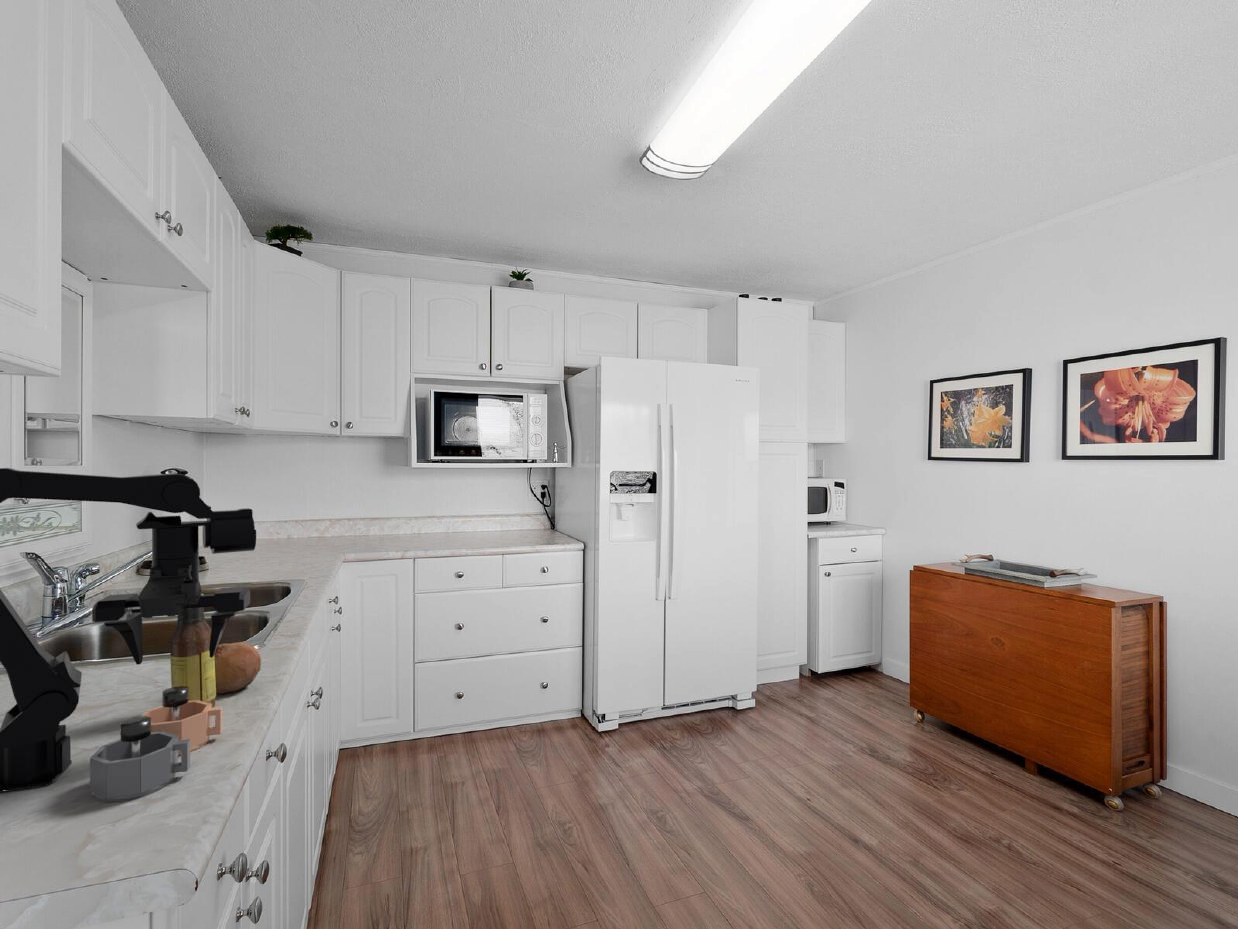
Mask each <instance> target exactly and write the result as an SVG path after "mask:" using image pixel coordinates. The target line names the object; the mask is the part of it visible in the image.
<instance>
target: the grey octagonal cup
mask: <svg viewBox="0 0 1238 929" xmlns="http://www.w3.org/2000/svg"><path fill="white" fill-rule="evenodd" d="M178 750H181V755H180V758H181V759H180V760H181V762H179V756H178ZM189 769H191V752H190V739H186V740H180V741H178V736H177V735H173V734H170V733H167V732H163V731H161V732H153V733H151V735H150V736H148V737H146V738H144V739H141V740H140V757H137V758H132V742H122V741H121V738H120V739H117V740H115V741H112V742H111V741H110V742H108V743H106V744H102V745H101V746H100V747H99V748H98V749H97V750H96V751H95V752H94V753H93V754H92V755H91V757H90V758H89V792H90V793H91V794H93V799H95V800H97V801H99V802H104V803H105V802H106V803H114V802H116V803H117V802H123V801H130V800H134V799H138V798H142V797H145V796H147V795H150V794H152V793H154V792H157V791H159V790H161V789H163V788H165V787H166V786H168V785H170V784H171V783H172V782H173V781H174V779H175V778H176V775H177V774H176V773H184V772H188V771H189Z"/></svg>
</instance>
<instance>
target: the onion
mask: <svg viewBox="0 0 1238 929" xmlns="http://www.w3.org/2000/svg"><path fill="white" fill-rule="evenodd" d="M214 660H215V682H216V693H219V694H227V693H228V694H229V693H233V692H235V691H239V690H241V691H242V690H244V689H246V688H247V687H248V686H249V685H251V684H252V683H253V682H254V681H255V679H256V678H257V675H258V674H259V673H260V671H261V666H262V665H261V664H262V659H261V654H260V653H259V650H258V649H257V648H256V647H255V646H254V645H252V644H250V643H248V642H244V641H238V642H231V643H220V644H218V647H217V649H216V652H215V655H214Z"/></svg>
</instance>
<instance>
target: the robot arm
mask: <svg viewBox="0 0 1238 929" xmlns="http://www.w3.org/2000/svg"><path fill="white" fill-rule="evenodd" d="M200 496H201V488H200V487H199V485H198V483H197V481H195V479H193V478H192V477H191V476H188V475H185V474H181V473H177V472H175V473H173V472H172V473H161V474H148V475H135V476H123V477H122V476H110V475H109V476H106V475H93V474H90V475H89V474H78V473H77V474H75V473H60V472H47V471H46V472H43V471H34V470H33V471H31V470H30V471H29V470H20V469H19V470H18V469H15V468H10V467H4V468H3V467H2V468H1V467H0V504H1V503H4V502H5V501H7V500H8V499H30V500H31V499H33V500H35V499H36V500H50V501H51V500H53V501H55V500H56V501H73V502H75V501H77V502H97V503H98V502H99V503H101V502H102V503H120V504H124V505H125V504H126V505H130V506H135V507H139V508H144V509H149V510H155V511H159V512H164V513H165V512H167V513H169V514H170V513H172V514H180V513H186V514H188V515H190V516H192V517H194V518H195V519H199V520H195V521H194V520H191V521H190V520H189V521H182V518H181V515H164V516H156V515H155V514H154V513H153V512H152V511H148V512H147V514H146V515H145V516H144V517H143V518H142V519H141V520H139V521H138V522H136V524H135V526H136V528H137V529H138V530H151V556H152V557H151V563H152V564H151V567H150V568H149V576H148V577H149V578H148V581H147V583H145V585H144V586H143V588H142V590H141V591H140V593H139V594H138V593H136V592H135V593H123V594H109V595H107V596H106V597H104V598H102V599H100V600H98V601H97V602H96V603H94V605H93V606H92V610H91V617H92V619H91V621H92V622H93V623H101V622H104V623H103V625H104V627H106V628H110V627H111V628H113V629H114V630H115V631H117V632H118V633H119V634H120V635H121V636H122V638H123V640H124V641H125V643H126V645H127V647H128V649H129V652H130V654H131V656H132V657H133V660H134V662H135V664H136V665H137V666H138V665H141V664H142V663H143V658H144V656H143V655H144V641H143V640H144V637H143V636H144V634H143V619H152V618H153V617H163V616H164V617H165V616H167V617H169V618H170V617H176V616H178V615H179V614H180V613H182V611H183V609H187V608H201V607H204V608H213V609H214V610H215V612H213V613H212V614H211V617H210V618H211V619H210V620H211V637H210V646H209V654H210V658H211V657H213V656H214V655H215V652H216V649H217V647H218V645H220V644H219V643H220V641H221V638H222V636H223V633H224V631H225V628H226V626H227V624H228V623H229V621H230V618H234V617H235V616H236V615H237V614H238V613H239V612H241V611H242V612H243V611H245V610H246V609H247V607H248V606H249V605H250V603H251V590H250V588H248V587H247V586H234V587H233V586H232V587H221V588H220V589H218V590H217V591H216V592H215V593H212V594H204V595H201V594H202V586H201V583H200V579H199V578H200V572H199V571H200V570H199V569H200V567H201V566H200V565H201V562H200V561H201V560H200V559H199V558H200V557H199V556H200V555H199V545H200V544H199V527H202V546H203V549H207V548H209V549H210V550H211V555H212V554H213V555H214V554H228V553H229V554H230V553H239V552H242V553H243V552H250V551H251V552H252V551H255V549H256V545H257V529H255V521H254V520H255V519H254V517H253V516H254V515H253V514H254V513H253V509H252V508H238V509H233V510H232V509H231V510H212V507H211V505H208V504H206V502H205V501H204V500H202V498H201V497H200ZM201 519H202V520H201ZM71 661H72V660H70V655H69V654H68V651H63V652H62V653H60V654H59V655H57V656H56V657H55V656H53V655H51V653H49V652H48V651H46V650H45V649H44V648H43V647H42V646H41V645H40V644H39V642H38V641H37V640H36V638H35V637H34V634H32V632H31V631H30V629H29V628H28V627H27V624H26V623H25V622H24V621H23V619H22V617H20V615H19V614H18V612H17V611H16V609H15V608H14V606H13V605H12V603H11V601H9V599H8V598H7V596H6V594H4V592H3V591H2V589H1V588H0V663H1V665H2V666H3V667H4V669H5V671H6V673H7V676H8V677H7V678H8V680H9V683H10V688H11V691H12V695H13V698H14V701H15V702H16V704H14V706H12V707H11V708H10V709H9V710H8V711H6V712H5V715H4V717H3V720H2V723H1V725H0V791H3V790H10V791H15V790H22V789H29V788H37V787H43V786H44V787H45V786H49V785H51V784H52V783H54V782H55V781H56V780H57V779H58V778H59V777H60V776H61V775H62V774H63V773H64V772H65V771H66V770H67V769H68V768H69V767H70V766H71V765H72V764H73V763H72V761H73V760H72V759H71V754H72V753H71V736H70V735H67V725H66V724H61V722H63V721H65V720H66V719H68V717H70V716H71V715H72V714H73V713H74V711H75V710H76V709H77V707H78V705H79V701H80V694H81V693H80V691H81V686H82V676H83V673H82V671H80V670H78V669H77V668H75V666H74V665H73V663H72V662H71ZM3 792H4V791H3Z"/></svg>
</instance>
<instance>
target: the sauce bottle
mask: <svg viewBox="0 0 1238 929" xmlns="http://www.w3.org/2000/svg"><path fill="white" fill-rule="evenodd" d="M201 595H205V594H204V593H201ZM204 608H205V607H201V608H187V609H183V611H182V613H180V614H179V615H177V620H176V621H177V622H176V623H177V624H176V626H175V628H174V631H173V633H172V634H171V637H170V649H169V650H170V651H169V652H170V653H169V656H170V659H169V660H170V679H171V680H170V681H171V688H172V687H177V686H187V687H188V688H189V701H194V700H199V701H203V702H207V703H211V704H212V708H214V707H215V706H216V698H217V692H216V682H215V660H214V656H213V657H211V658H210V654H209V646H210V637H211V629H212V627H211V626H210V625H209V624H208V622H207V620H206V619H205V618H206V617H205V612H204V610H205V609H204Z"/></svg>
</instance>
